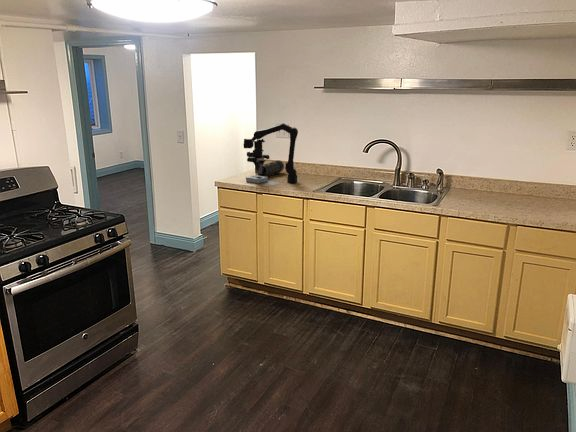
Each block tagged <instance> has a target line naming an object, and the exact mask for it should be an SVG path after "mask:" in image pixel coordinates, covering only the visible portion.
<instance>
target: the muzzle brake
mask: <svg viewBox="0 0 576 432" xmlns="http://www.w3.org/2000/svg"><path fill="white" fill-rule="evenodd" d="M284 169H285V163H284V162H283V161H282V160H278V159H277V160H274V161H272V162H269V163H268V162H267V163H266V164H265V163H264V164H263V166H262V173H261V174H258V173H257V176H264V177H271V176H272V175H274V174H275V175H277V174H278V173H282V172H283V170H284Z"/></svg>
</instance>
